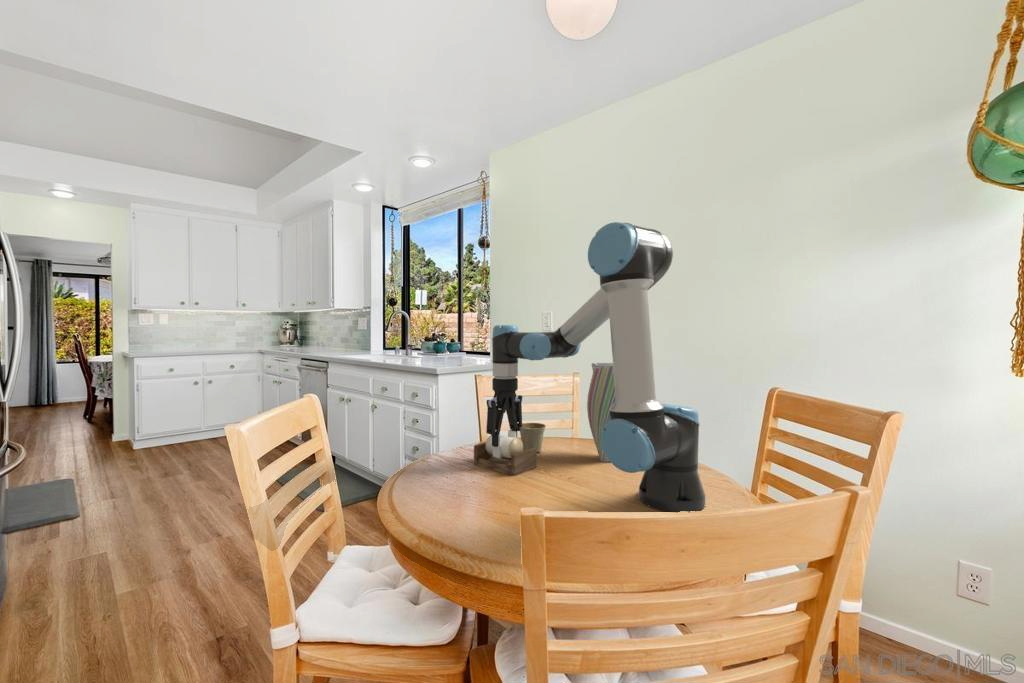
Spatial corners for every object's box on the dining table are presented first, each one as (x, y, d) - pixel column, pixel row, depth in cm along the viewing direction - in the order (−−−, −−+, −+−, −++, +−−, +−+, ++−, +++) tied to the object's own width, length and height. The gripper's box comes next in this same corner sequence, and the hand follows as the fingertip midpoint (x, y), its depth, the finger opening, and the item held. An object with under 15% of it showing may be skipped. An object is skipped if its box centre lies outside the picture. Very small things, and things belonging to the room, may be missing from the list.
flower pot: (514, 448, 157) (514, 423, 157) (539, 446, 160) (540, 421, 160) (522, 456, 148) (523, 429, 148) (550, 453, 151) (550, 427, 151)
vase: (583, 453, 152) (584, 362, 150) (625, 453, 151) (626, 362, 150) (589, 466, 138) (589, 365, 137) (634, 466, 137) (636, 366, 136)
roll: (524, 456, 137) (522, 435, 137) (510, 461, 132) (508, 440, 132) (500, 451, 144) (498, 432, 143) (486, 456, 139) (484, 437, 139)
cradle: (536, 467, 136) (536, 448, 136) (514, 476, 129) (514, 455, 129) (496, 457, 147) (496, 439, 147) (474, 464, 139) (474, 445, 139)
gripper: (516, 373, 146) (515, 445, 147) (473, 379, 132) (473, 459, 133) (534, 375, 142) (534, 450, 143) (492, 381, 127) (492, 464, 128)
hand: (504, 454), depth 138 cm, fingers closed on roll, 6 cm apart
